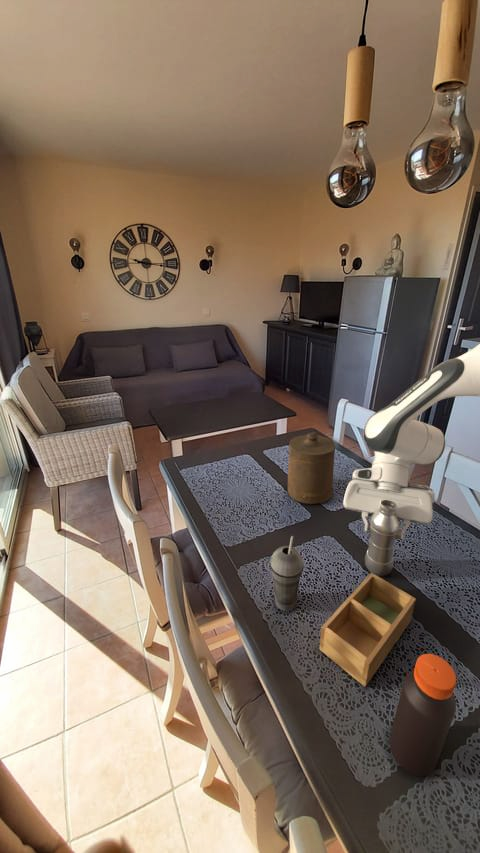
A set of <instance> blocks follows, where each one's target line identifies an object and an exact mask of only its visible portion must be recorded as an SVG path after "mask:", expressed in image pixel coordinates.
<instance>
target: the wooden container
mask: <svg viewBox="0 0 480 853" xmlns="http://www.w3.org/2000/svg"><path fill="white" fill-rule="evenodd" d="M288 445H289V446H288V447H289V448H288V449H289V450H288V464H287V465H288V466H287V493H288V495H289V497H291V499H293V500H295V501H297V502H299V503H302V504H307V505H317V504H323V503H325V502H326V501H328V500H330V499H331V497H332V494H333V483H334V466H335V455H336V454H335V453H336V444H335V442H334V441H333V440H331V439H329V438H328V437H326V436H322V435H318V434H317V433H316V432H315V431H312V432H309V433H307V434H302V435H298V436H295V437H293V438H292V439H290V441H289V444H288Z"/></svg>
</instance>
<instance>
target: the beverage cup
mask: <svg viewBox="0 0 480 853" xmlns="http://www.w3.org/2000/svg"><path fill="white" fill-rule="evenodd" d="M293 541H294V536H293V535H291V536H290V542H289V545H282V546H280V547H278V548H277V549H276V550H275V551H274V552H273V553H272V554H271V559H270V561H269V566H270V571H271V575H272V583H273V591H274V600H275V605H276V607H277V608H278V609H279V610H281V611H282V612H283V611H284V612H289V611H292V610H293V609H294V608H295V606H296V603H297V598H298V592H299V586H300V580H301V577H302V574H303V571H304V567H305V566H304V562H303V557H302V555H301V554H300V552H299V551H298V550H297V549H296V548H294V547H293V543H294V542H293Z"/></svg>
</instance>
